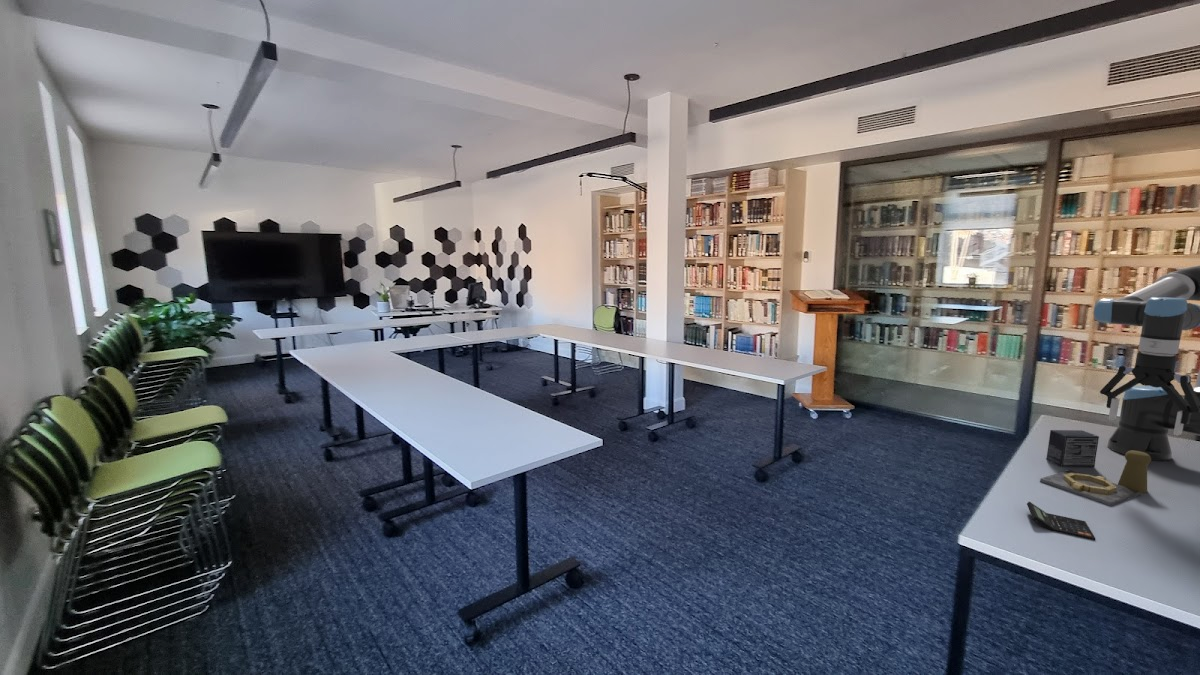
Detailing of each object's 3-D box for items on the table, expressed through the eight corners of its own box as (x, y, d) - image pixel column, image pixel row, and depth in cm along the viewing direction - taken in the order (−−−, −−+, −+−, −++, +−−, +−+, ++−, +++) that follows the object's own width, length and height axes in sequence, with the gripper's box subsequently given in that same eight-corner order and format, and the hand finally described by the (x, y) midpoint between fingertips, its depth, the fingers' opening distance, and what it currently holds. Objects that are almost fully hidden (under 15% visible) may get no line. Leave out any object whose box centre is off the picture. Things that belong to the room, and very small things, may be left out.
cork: (1153, 493, 145) (1160, 457, 144) (1128, 491, 147) (1135, 455, 145) (1136, 484, 151) (1142, 449, 149) (1112, 482, 152) (1118, 447, 151)
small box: (1077, 459, 169) (1082, 429, 168) (1095, 468, 163) (1101, 436, 161) (1044, 459, 170) (1049, 428, 168) (1061, 467, 163) (1066, 435, 161)
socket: (1069, 472, 159) (1070, 466, 159) (1139, 494, 145) (1140, 487, 144) (1040, 481, 153) (1041, 474, 152) (1110, 505, 138) (1111, 498, 138)
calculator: (1094, 541, 121) (1097, 530, 121) (1031, 527, 127) (1033, 516, 127) (1084, 524, 129) (1086, 513, 129) (1025, 511, 135) (1027, 501, 135)
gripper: (1092, 346, 152) (1081, 415, 155) (1218, 363, 129) (1201, 443, 133) (1105, 344, 155) (1094, 412, 158) (1231, 361, 132) (1214, 439, 136)
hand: (1143, 426), depth 146 cm, fingers open, 13 cm apart
